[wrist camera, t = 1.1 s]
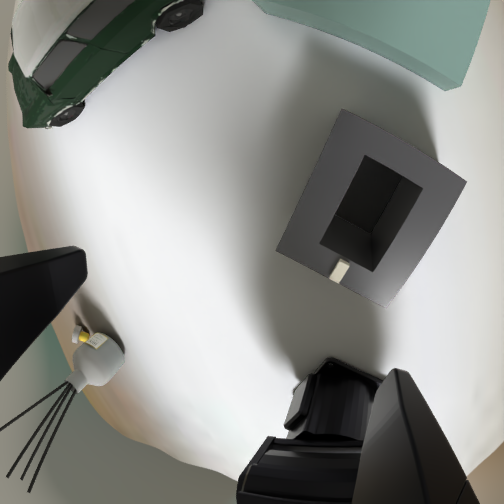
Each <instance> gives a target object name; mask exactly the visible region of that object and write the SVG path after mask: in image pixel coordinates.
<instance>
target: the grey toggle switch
mask: <svg viewBox="0 0 504 504" xmlns="http://www.w3.org/2000/svg"><path fill="white" fill-rule="evenodd" d="M365 155H366V156H368V157H370V158H372V159H374V160H376V161H377V162H379V163H381V164H383V165H385V166H386V167H388V168H390V169H392V170H393V171H395V172H397V173H399V174H400V175H402V178H401V180H400V182H399V184H398V186H397V188H396V190H395V192H394V193H393V195H392V197H391V199H390V201H389V203H388V204H387V206H386V208H385V210H384V212H383V213H382V215H381V217H380V219H379V220H378V222H377V224H376V226H375V227H374V229H373V231H372V233H371V234H370V233H368V232H366V231H365V230H363V229H361V228H359V227H357V226H355V225H354V224H352V223H350V222H348V221H346V220H344V219H342V218H341V217H339V216H337V215H335V213H336V211H337V209H338V207H339V205H340V203H341V201H342V199H343V197H344V195H345V194H346V192H347V190H348V188H349V186H350V184H351V182H352V180H353V178H354V176H355V174H356V172H357V170H358V168H359V166H360V164H361V162H362V160H363V158H364V156H365ZM466 183H467V181H465V180H464V179H462V178H461V177H460V176H458V175H457V174H455V173H454V172H452V171H451V170H449V169H448V168H446V167H445V166H443V165H442V164H440V163H439V162H437V161H436V160H434V159H433V158H431V157H430V156H428V155H426V154H425V153H423V152H422V151H420V150H418V149H417V148H415V147H413V146H412V145H410V144H408V143H407V142H405V141H403V140H401V139H400V138H398V137H396V136H394V135H393V134H391V133H389V132H387V131H385V130H384V129H382V128H380V127H378V126H376V125H374V124H372V123H370V122H368V121H367V120H365V119H363V118H361V117H359V116H357V115H355V114H353V113H350V112H348V111H346V110H344V109H341V111H340V114H339V116H338V118H337V120H336V123H335V125H334V127H333V129H332V131H331V134H330V136H329V138H328V140H327V142H326V144H325V147H324V149H323V151H322V153H321V155H320V158H319V160H318V162H317V164H316V166H315V168H314V170H313V173H312V175H311V177H310V179H309V181H308V183H307V186H306V188H305V190H304V192H303V194H302V196H301V198H300V200H299V203H298V205H297V207H296V209H295V211H294V213H293V215H292V217H291V219H290V222H289V224H288V226H287V228H286V230H285V232H284V234H283V236H282V238H281V240H280V243H279V245H278V247H277V249H276V251H277V252H279V253H281V254H283V255H285V256H287V257H289V258H291V259H293V260H295V261H297V262H298V263H300V264H302V265H304V266H306V267H308V268H310V269H312V270H314V271H316V272H318V273H320V274H322V275H323V276H325V277H327V278H329V279H331V280H333V281H335V282H336V283H338V284H341V285H343V286H344V287H346V288H348V289H350V290H352V291H354V292H356V293H358V294H360V295H362V296H363V297H365V298H367V299H369V300H371V301H373V302H375V303H377V304H379V305H380V306H382V307H384V308H387V307H388V305H389V304H390V303H391V301H392V300H393V299H394V297H395V296H396V295H397V293H398V292H399V290H400V289H401V288H402V286H403V285H404V283H405V282H406V281H407V279H408V278H409V276H410V275H411V273H412V272H413V271H414V269H415V268H416V266H417V265H418V263H419V262H420V260H421V259H422V257H423V256H424V254H425V253H426V251H427V249H428V248H429V246H430V245H431V243H432V242H433V240H434V238H435V237H436V235H437V234H438V232H439V230H440V229H441V227H442V225H443V224H444V222H445V220H446V219H447V217H448V215H449V214H450V212H451V210H452V208H453V207H454V205H455V203H456V201H457V199H458V198H459V196H460V194H461V192H462V190H463V188H464V187H465V185H466Z"/></svg>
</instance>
